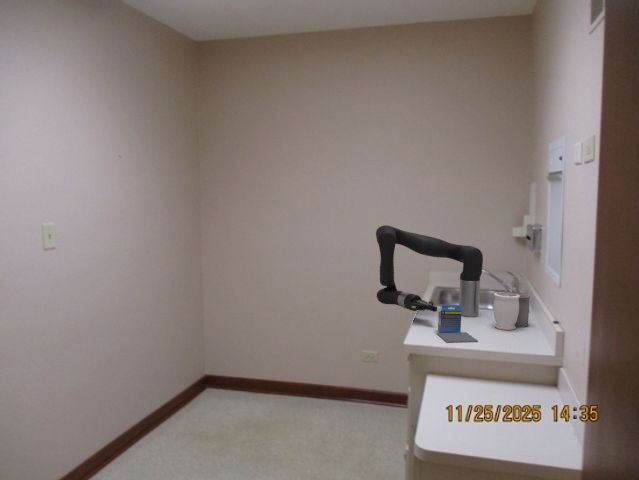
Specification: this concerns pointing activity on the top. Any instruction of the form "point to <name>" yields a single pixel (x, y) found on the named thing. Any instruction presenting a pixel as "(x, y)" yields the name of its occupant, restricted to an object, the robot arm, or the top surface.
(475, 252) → the robot arm
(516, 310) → the jar
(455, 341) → the mat
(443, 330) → the label tape box
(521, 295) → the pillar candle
